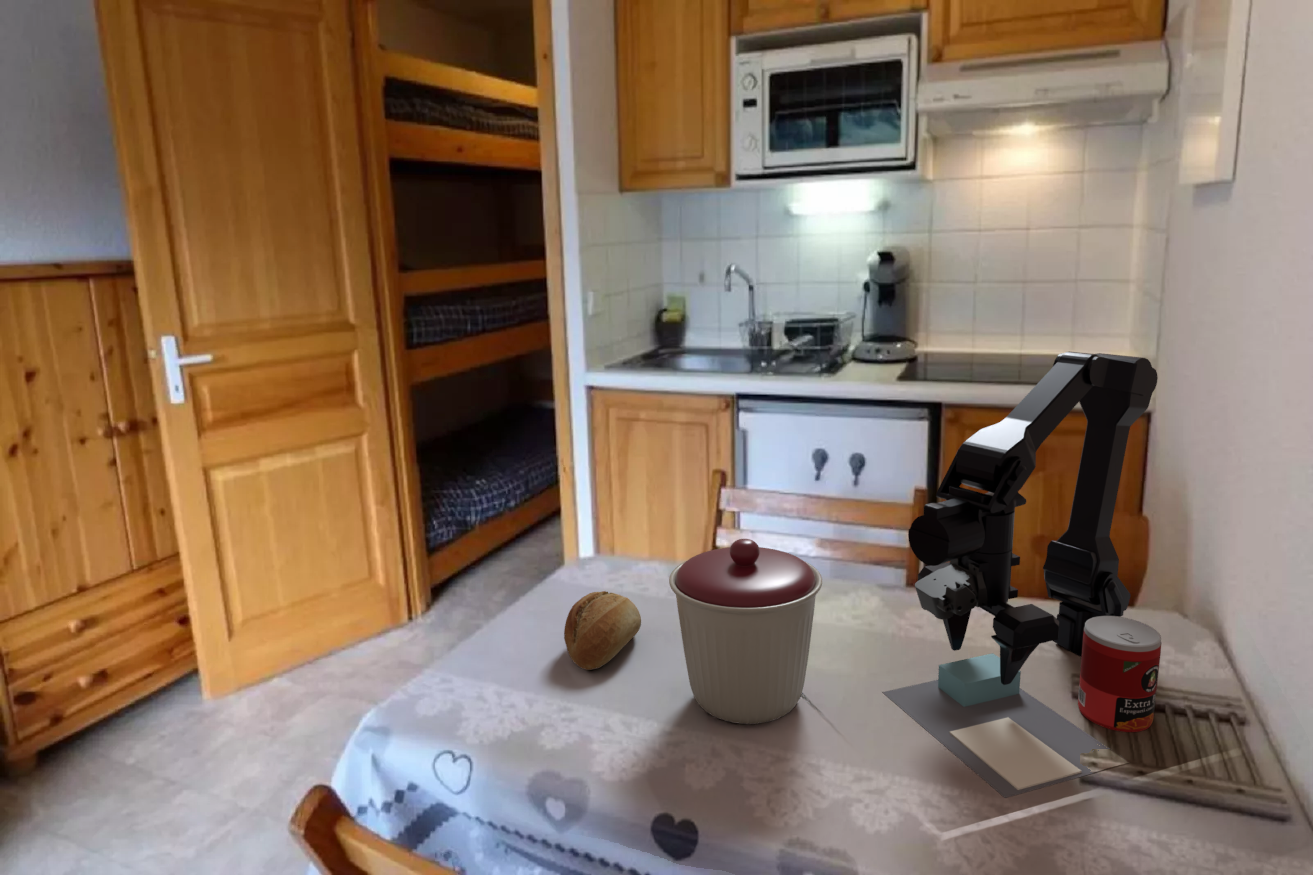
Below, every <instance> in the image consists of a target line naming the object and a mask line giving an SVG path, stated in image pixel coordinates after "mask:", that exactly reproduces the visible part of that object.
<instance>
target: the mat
mask: <svg viewBox="0 0 1313 875" xmlns="http://www.w3.org/2000/svg"><path fill="white" fill-rule="evenodd" d="M882 693H883V694H884V696H886V698H888V699H889V700H890V701H891V702H893V703H894V704H895V705H896V706H898V707H899V709H901V710H902V711H903V712H904V713H906V714H907V716H909V717H910V718H912V720H913V721H915V722H916V723H917V724H919V726H920V727H922V728H923V729H925V731H926V732H928V733H929V734H930V735H931V736H932V737H933V738H934V739H936V740H937V741H938V742H939V743H940V744H941V745H943V747H945V748H946V749H947V750H949V752H951V753H952V754H953V755H955V757H957V759H959V760H960V761H961V762H962V763H963V764H964V765H966V766H967V767H968V768H969V769H971V771H972V772H974V773H975V774H976V775H977V776H979V778H981V779H982V780H983V781H984V782H986V784H988V785H989V786H991V787H992V789H994V790H995V791H996V792H997V793H998V794H1000V795H1001V796H1002V797H1003V798H1004V799H1007V798H1010V797H1014V796H1017V795H1021V794H1024V793H1028V792H1031V791H1034V790H1038V789H1042V788H1046V787H1050V786H1054V785H1058V784H1059V783H1060V784H1061V783H1064V782H1067V781H1071V780H1075V779H1078V778H1082V777H1085V776H1089V775H1093V774H1094V773H1092V772H1090V771H1091V770H1090V769H1088V768H1087V767H1088V766H1087V767H1086V766H1083V765H1082V764H1080V754H1081V753H1089V752H1090V751H1091V750H1092V749H1111V748H1110V747H1108V746H1107V745H1105V744H1104V743H1102V742H1101V741H1100V740H1098V739H1097V738H1095V737H1093V736H1092V735H1091V734H1089V733H1088V732H1086V731H1084V730H1083V729H1082V728H1080V727H1078V726H1077V725H1075V723H1072V722H1071V721H1070V720H1068V719H1067V718H1066V717H1064V716H1062V715H1061V714H1059V713H1058V712H1056V711H1055V710H1053V709H1052V708H1050V707H1049V706H1048V705H1046V704H1044V702H1041V701H1040V700H1039V699H1037V698H1035V696H1032V695H1031V694H1030V693H1028V692H1026V691H1025V690H1023V689H1022V688H1020V691H1019V694H1016V695H1012V696H1008V697H1003V698H999V699H995V700H991V701H987V702H982V703H978V704H974V705H970V706H965V707H963V706H962V705H961V704H960V703H958V702H957V701H956V700H954V699H953V698H952V697H950V696H949V695H948V694H947V693H945V692H944V691H943V690H941V689H940V688H939V687H938V679H935V680H930V681H926V682H922V683H917V684H912V685H907V686H903V687H899V688H895V689H894V688H893V689H890V690H886V691H882ZM1097 744H1098V745H1097ZM1102 744H1103V745H1102ZM1099 745H1100V746H1099ZM1104 745H1105V746H1104ZM1106 747H1107V748H1106ZM1093 751H1094V750H1093ZM1093 751H1092V752H1093ZM1098 751H1099V750H1098ZM1120 756H1121V757H1123V756H1122V755H1120Z"/></svg>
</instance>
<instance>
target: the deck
mask: <svg viewBox="0 0 1313 875" xmlns="http://www.w3.org/2000/svg"><path fill="white" fill-rule="evenodd" d="M1021 675H1022V671H1021V669H1020V670H1019V672H1018V673H1017V675H1016V676H1015V678H1014V679H1013V681H1012V682H1011V683H1010V684H1007V685H1003V684H1002V683H1001V676H1000V656H998V655H996V654H994V652H993V653H988V654H983V655H979V656H974V657H973V656H972V657H970V658H965V659H960V660H956V661H952V662H951V661H949V662H945V663H942V664H939V665H938V675H937V676H938V678H937V680H938V687H939V688H940V689H941V690H943V691H944V692H945V693H947V694H948V695H949V696H950V697H952V698H953V699H954V700H956V701H957V702H958V703H960V704H961V705H962V706H963V707H965V706H970V705H974V704H978V703H982V702H987V701H991V700H995V699H999V698H1003V697H1008V696H1012V695H1016V694H1019V691H1020V687H1021Z"/></svg>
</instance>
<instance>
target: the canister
mask: <svg viewBox="0 0 1313 875" xmlns="http://www.w3.org/2000/svg"><path fill="white" fill-rule="evenodd" d="M668 577H669V578H668V585H669V588H671V590H672V592H673V594H675V597H676V598H675V599H676V605H677V614H678V619H679V625H680V631H681V632H680V633H681V640H682V646H683V652H684V658H685V659H684V660H685V664H686V669H687V675H688V682H689V686H690V690H691V692H692V694H693V696H694V699H695V700H696V702H697V704H698V705H699V706H700V708H701V709H703V710H704V711H705V712H706V713H708V714H709V715H711V716H712V717H715V718H717V719H719V720H724V721H725V722H731V723H732V724H736V723H737V724H740V725H743V724H746V725H751V724H753V725H754V724H755V725H757V724H764V723H767V722H772V721H774V720H779V719H780V717H781V718H782V717H784V716H785V715H787V714H789V713H790V712H791V711H792V710H793V709H794V708H795V707H796V705H797V704H798V703H799V700H800V699H801V697H802V693H803V689H804V686H805V680H806V675H807V667H808V663H809V654H810V646H811V640H812V630H813V622H814V615H815V608H816V607H815V606H816V605H815V604H816V596H817V594H819V593H820V590H821V588H822V586H823V577H822V574H821V572H820V571H819V569H817V568H816V567H814V566H813V564H810V563H809V562H807V561H804V560H803V559H802V558H800V557H798V556H796V555H794V554H791V553H790V552H789V553H788V552H785V551H782V550H778V549H775V548H768V547H760V546H759V545H758V544H757V543H756V542H755V541H754V540H753V539H750V538H739V539H736V540H735V541H734V542H732V543H731V545H730V546H729V547H722V548H715V549H711V550H707V551H704V552H701V553H699V554H696V555H694V556H692V557H690V558H689V559H687V560H685V561H684V562H682V563H680V564H679V565H677V566H676V567H675V568H674V569H673V570H672V572H671V573H670V575H669V576H668Z"/></svg>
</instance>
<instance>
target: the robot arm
mask: <svg viewBox="0 0 1313 875" xmlns="http://www.w3.org/2000/svg"><path fill="white" fill-rule="evenodd" d="M1157 384H1158V372H1157V369H1155V368H1154V367H1153V366H1152V362H1150V360H1149V359H1148V358H1147V357H1141V356H1130V355H1123V354H1122V355H1120V354H1111V353H1110V354H1109V353H1100V352H1099V353H1088V352H1078V351H1065V352H1060V353H1059V354H1058V355H1057V356H1056V357H1055V359H1054V362H1053V364H1052V368H1050V370H1048V372H1047V373H1045V375H1044V376H1043V377H1042V378H1041V379H1040V381H1038V382H1037V384H1036V385H1035V386H1033V388H1032V389H1031V390H1030V391H1029V392H1028V393H1027V394H1025V395H1026V396H1024V398H1023V399H1021V401H1020V402H1019V403H1018V404H1017V405H1016V406H1015V407H1014V408H1013V409H1012V410H1011V412H1009V413H1008V414H1007V416H1006V417H1004V419H1002V420H1001V421H1000V422H997V423H995V424H992V425H988V426H986V427H983V428H980V429H979V430H978V431H977V432H975V433H974V434H972V435H971V436H970V437H969V438H967V439H966V440H965V441H963V443H962V444H961V445H960V446H959V447H958V449H957V450H956V453H955V456H954V457H953V459H952V461H951V463H950V465H949V467H948V469H947V471H946V472H945V475H944V476H943V479H942V481H941V483H940V485H939V487H938V488H937V490H936V493H935V497H936V498H939V499H943V501H939V502H930V503H926V504H924V506H923V514H921V515H919V516H917V517H916V518H915V519H914V520H913V521H912V523H911V524H910V528H909V529H908V532H907V533H908V534H907V535H908V542H909V545H910V549H911V551H912V553H913V554H914V556H915V557H916V558H917V559H918V560H919V561H920V562H922V563H923V564H924V565H927V566H923V567H922V569H921V570H920V571H919V573H918V574H917V581H916V582H915V583H914V588H915V591H916V593H917V594H916V595H917V597H918V600H919V603H920V607H921V608H922V610H924V611H927V612H929V613H931V614H932V615H933V616H934V617H935V618H936V619H937V620H942V622H943V624H944V627H945V633H946V635H947V639H948V641H949V645H950V648H951V650H952V651H954V652H956V651H959V650H961V648H962V645H963V643H964V640H965V637H966V633H967V629H968V624H969V621H970V618H971V613H972V610H973V609H975V608H976V607H977V608H981V609H982V610H984V611H986V612H987V613H989V614H990V615H992V616H994V617H993V620H992V629H993V631H994V633H995V634H993V635H991V636H990V637H991V639H992V640H993V641H995V642H996V643H997V645H998V646H999V658H1000V676H1001V683H1002V684H1003V685H1007V684H1010V683H1011V682H1012V681H1013V679H1014V678H1015V676H1016V675H1017V673H1018V672H1019V670H1020V671H1021V669H1022V667H1023V666H1024V664H1025V663H1026V662H1027V660H1028V659H1029V657H1030V656H1031V654H1032V653H1033V652H1035V650H1036V649H1037V647H1038V646H1039V645H1040V644H1045V643H1048V642H1054V643H1055V644H1058V645H1059V646H1061V648H1064V649H1066V650H1068V651H1070V652H1071V653H1074V654H1075V655H1077V656H1078V657H1082V645H1083V634H1084V627H1085V623H1086V621H1087V620H1089V619H1091V618H1093V617H1098V616H1117V617H1124V612H1125V611H1127V609H1128V606H1129V605H1130V600H1131V593H1130V592H1129V589H1127V587H1126V586H1125V585H1124V583H1123V582H1122V581H1121V579H1120V578H1119V576H1118V575H1119V574H1118V573H1119V564H1120V563H1119V562H1120V558H1119V556H1118V554H1117V551H1116V549H1115V547H1114V546H1115V545H1114V544H1113V541H1112V540H1111V537H1110V536H1111V529H1112V524H1113V518H1114V513H1115V507H1116V502H1117V498H1118V491H1119V488H1120V487H1119V485H1120V481H1121V476H1122V471H1123V465H1124V460H1125V456H1126V450H1127V445H1128V439H1129V434H1130V430H1131V427H1132V426H1133V424H1135V422H1136V421H1137V420H1138V419H1139V418H1140V417H1142V415H1143V414H1144V413H1145V411H1147V410H1148V408H1149V406H1150V402H1151V400H1152V395H1153V393H1154V392H1155V389H1156V387H1157ZM1078 404H1079V405H1080V407H1081V410H1082V412H1083V414H1084V416H1085V419H1086V427H1085V432H1084V439H1083V442H1082V443H1083V444H1082V445H1083V446H1082V450H1081V454H1080V460H1079V461H1080V462H1079V465H1078V466H1079V467H1078V471H1077V476H1076V477H1077V478H1076V481H1075V482H1076V483H1075V488H1074V493H1073V500H1072V504H1071V509H1070V510H1071V511H1070V515H1069V516H1070V517H1069V521H1068V526H1067V530H1066V531H1064V533H1063V534H1061V536H1060V537H1059V538H1058V539H1057V540H1051V541H1049V543H1048V544H1047V548H1046V549H1047V550H1046V558H1045V562H1044V564H1043V566H1042V570H1043V577H1044V582H1045V586H1046V591H1047V592H1046V593H1047V596H1048V598H1051V599H1055V600H1058V601H1059V603H1058V604H1059V605H1058V614H1057V615H1056V617H1055V615H1053V614H1052V613H1050V612H1048V611H1046V610H1044V609H1043V608H1040V607H1039V606H1037V605H1035V604H1033V603H1030V604H1029V603H1028V604H1023V605H1018V606H1013V605H1011V604H1009V603H1008V602H1009V600H1011V599H1016V598H1018V596H1019V589H1018V588H1016V587H1014V586H1012V585H1011V581H1012V567H1015V566H1020V564H1021V563H1020V562H1021V556H1019V555H1017V554H1015V553H1013V546H1014V545H1013V544H1014V529H1015V514H1016V513H1015V512H1016V508H1017V507H1021V506H1024V505H1026V503H1027V499H1026V498H1025V497H1024V496H1023V495H1022V494H1020V492H1019V491H1020V490H1021V489H1022V488H1023V487H1024V485H1025V484H1026V482H1027V481H1028V479H1029V478H1030V477H1031V475H1032V473H1033V472H1034V470H1035V469H1036V465H1037V460H1036V459H1037V458H1036V457H1037V454H1036V453H1037V451H1038V449H1039V448H1040V446H1042V444H1043V443H1044V442H1045V441H1046V440H1047V438H1048V437H1049V436H1050V435H1051V434H1052V432H1054V431H1055V429H1056V428H1057V427H1058V426H1059V425H1060V424H1061V422H1062V421H1064V419H1065V418H1066V417H1067V416H1068V415H1069V414H1070V413H1071V411H1072V410H1073V409H1074V408H1075V407H1076V406H1077V405H1078ZM961 485H964V486H967V487H970V488H975V489H976V490H982V491H985V492H986V493H985V492H984V493H983V492H981V491H980V492H979V491H976V490H973V489H968V488H965V487H961Z"/></svg>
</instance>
